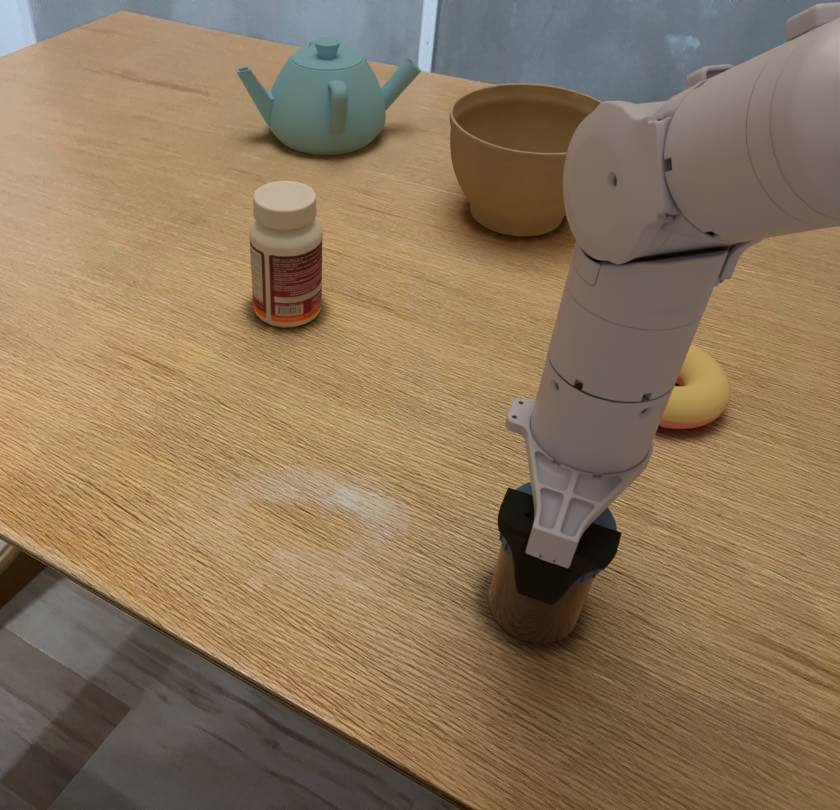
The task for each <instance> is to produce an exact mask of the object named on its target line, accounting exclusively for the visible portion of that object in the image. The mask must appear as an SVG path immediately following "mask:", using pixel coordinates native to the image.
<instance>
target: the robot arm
mask: <svg viewBox="0 0 840 810" xmlns="http://www.w3.org/2000/svg"><path fill="white" fill-rule="evenodd" d="M785 34H786V42H784V43H782V44H780V45H778V46H775V47H774V48H771V49H769V50H767V51H765V52H763V53H760V54H758V55H755V56H754V57H752V58H750V59H747V60H746V61H743V62H742V63H739V64H736V65H733V64H731V63H726V64H724V63H723V64H715V65H706V66H703V67H701V68H699V69H697V70H695V71H693V72H691V73H689V74H688V75H687V76H686V79H685V89H683V90H680V91H679V92H678V93H675V94H674V95H673V96H672V97H670V98H669V99H668V100H662V101H650V102H642V103H640V102H639V103H633V102H630V101H625V100H605V101H602V103H600V104H599V105H598V106H597V108H596V109H595V110H594V111H593V112H592V113H591V114H589V115H588V116H587V117H586V118H585V119H584V120H583V121H582V122H581V123H580V124H579V126H578V127H577V129H576V131H575V132H574V134H573V137H572V139H571V141H570V144H569V147H568V150H567V154H566V159H565V164H564V173H563V197H564V206H565V211H566V215H565V216H566V220H567V223H568V226H569V229H570V232H571V234H572V236H573V238H574V240H575V244H574V248H573V253H572V256H571V260H570V264H569V268H568V271H567V276H566V279H565V284H564V288H563V291H562V295H561V299H560V302H559V307H558V309H557V315H556V319H555V323H554V327H553V329H552V330H553V331H552V334H551V337H550V342H549V346H548V351H547V354H546V358H545V362H544V365H543V369H542V374H541V378H540V381H539V385H538V388H537V393H536V396H535V400H531V399H527V398H523V397H522V398H521V397H519V398H515V399H513V400H512V402H511V404H510V407H509V409H508V412H507V414H506V416H505V417H506V418H505V422H504V426H505V428H506V429H507V430H508V431H510V432H512V433H515V434H518V435H520V436H522V438H523V440H524V444H525V451H526V459H527V467H528V473H529V480H530V481H529V482H531V488H532V495H530V494H527V493H524V492H521V491H518V490H516V489H515V488H512V487H507V489H506V491H505V494H504V496H503V499H502V502H501V504H500V507H499V509H498V513H497V530H498V532H499V534H500V533H501V534H502V536H503V537H504V538H505V539H506V541H507V543H508V544H509V547H510V549H511V552H512V556H513V563H514V578H515V585H516V590H517V592H518V593H519V594H522V595H524V596H527V597H530V598H532V599H535V600H538V601H540V602H543V603H546V604H548V605H554V604H555V603H556V602H557V601H558V600H559V599H560V598H561V597H562V596H563V595H564V594H565V593H566V592H567V591H568V589H569V588H570V587H571V586H572V585H573V584H574V583H575V582H576V581H577V580H578V579H579V578H580V577H582V576H583V575H585V574H587V573H589V572H591V571H594V570H599V569H604V568H605V569H606V568H607V567H608V566H609V565H611V563H612V562H613V560H614V559H615V557H616V556H617V553H618V549H619V545H620V541H621V538H622V532H621V531H618V530H617V531H616V530H613V529H610V528H607V527H604V526H601V525H598V524H595V523H592V522H593V521H594V520H595V519H596V518H597V517H598V516H599V515H600V514H601V513H602V512H603V511H604V510H605V509H606V508H607V507H608V508H609V506H611V505H612V503H613V502H615V500H617V498H619V496H621V495H622V494H623V492H625V491H626V490H627V489H628V488H629V487H630V486H631V485H632V484H633V483H634V482H635V480H637V479H638V477H640V476H641V475H642V474H643V472H644V471H645V470H646V469H647V467H648V465H649V463H650V460H651V458H652V455H653V452H654V444H655V443H654V438H655V437H656V433H657V431H658V429H659V424H660V421H661V419H662V416H663V414H664V411H665V409H666V406H667V404H668V401H669V398H670V396H671V393H672V391H673V388H674V386H676V384H677V383H676V381H677V378H678V375H679V373H680V370H681V368H682V365H683V363H684V360H685V358H686V355H687V353H688V351H689V348H690V346H691V344H692V343H693V340H694V339H695V335H696V333H697V331H698V328H699V325H700V323H701V320H702V318H703V315H704V313H705V311H706V309H707V307H708V304H709V301H710V299H711V295H712V293H713V292H714V289H715V287H718V286H719V284H722V283H724V282H725V281H726V280H731V279H732V276H733V274H734V272H735V269H736V267H737V265H738V262H739V260H740V259H741V256H742V255H743V254H744V252H745V251H747V250H748V249H749V248H751V247H752V246H754V245H756V244H758V243H760V242H762V241H764V240H765V239H769V238H777V237H781V236H782V237H783V236H789V235H793V234H800V233H805V232H811V231H817V230H823V229H824V230H825V229H829V228H837V227H840V1H837V2H836V1H835V2H825V3H824V2H823V3H817V4H815V5H812V6H811V7H808V8H806V9H804V10H801V12H799V13H796V14H795V15H793V16H791V17H789V18H788V19H787V20H786V23H785ZM605 569H604V570H605Z"/></svg>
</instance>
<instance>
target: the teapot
mask: <svg viewBox="0 0 840 810" xmlns="http://www.w3.org/2000/svg"><path fill="white" fill-rule="evenodd" d="M235 72H236V74H237V75H238V77H239V79H240V81H241V82H242V84H243V86H244V87H245V89H246V91H247V93H248V94H249V96H250V98H251V100H252V101H253V103H254V105H255V107H256V108H257V110H258V111H259V114H260V115H261V117H262V118H263V120H264V122H265V123H266V125H267V126H268V128H269V130H270V131H271V132H272V134H273V135H274V136H275V137H276V138H277V140H279V141H280V143H282V144H283V145H284V146H285V147H287V148H288V149H291V150H293V151H296V152H299V153H303V154H307V155H315V156H337V155H344V154H350V153H353V152H357V151H360V150H362V149H364V148H365V147H367V146H368V145H370V143H372V142H373V141H374V140H375V139H376V138H377V137H378V136H379V135H380V133H381V132H382V131H383V129H384V128H385V124H386V120H387V119H386V117H387V113H386V111H388V109H389V108H390V107H391V106H392V104H393V103H394V102H395V101H396V100H397V99H398V98H399V97H400V96H401V95H402V94H403V92H404V91H405V90H406V89H407V88H408V87H409V86H410V84H411V83H412V82H414V80H415V79H416V78H417V77H418V76H419V75H420V73H422V69H421V68H420V67H419V66H418V64H416V63H415V62H414V61H413V60H412V59H411V58H409V57H405V59H404V60H403V61H402V63H401V64H399V66H398V68H396V70H395V71H394V72H393V74H392V75H391V76H390V77H389V78H388V79H387V81H386V82H385V83H384V84H383V85H382V87H381V85H380V82H379V81H378V78H377V76H376V74H375V72H374V70H373V68H372V66H371V64H370V63H369V61H368V60H367V59H366V57H365V55H364V54H363V53H362V52H360V51H359V50H358V49H356V48H353V47H350V46H346V45H343V44H341V41H340V39H338V38H336V37H332V36H323V37H319V38H317V39H314V40H312V41H310V42H309V45H307V46H303V47H300V48H298V49H295V50H294V51H293V52H292V53H291V54H290V55H289V56H288V58H287V60H286V61H285V63H284V64H283V66H282V68H281V69H280V71H279V72H278V75H277V76H276V78H275V81H274V83H273V84H272V86H271V89H266V87H264V85H263V84H262V82H261V81H260V80H259V79H258V77H257V76H256V75H255V73H254V72H253V70H252V68H251V65H247V66H242V67H236V68H235Z"/></svg>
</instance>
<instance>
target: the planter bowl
mask: <svg viewBox="0 0 840 810" xmlns="http://www.w3.org/2000/svg"><path fill="white" fill-rule="evenodd" d="M602 102H603V101H602V100H600V99H598V98H596V97H593V96H592V95H589V94H586V93H582V92H580V91H577V90H573V89H569V88H565V87H561V86H556V85H552V84H551V85H549V84H543V83H532V82H531V83H529V82H519V83H518V82H510V83H497V84H491V85H487V86H482V87H478V88H475V89H473V90H470V91H468V92H465V93H463V94H462V95H460V96H459V97H457V98H456V99H455V100H454V102H452V104H451V106H450V108H449V125H450V126H449V127H450V132H449V147H450V148H449V149H450V150H449V151H450V159H451V163H452V168H453V172H454V175H455V178H456V181H457V183H458V185H459V187H460V189H461V191H462V193H463V195H464V196H465V198H466V199H467V201H468V202H469V211H470V214H471V216H472V218H473V219H474V220H475V221H476V222H477V223H478V224H479V225H481V226H483V227H484V228H486V229H488V230H490V231H493V232H496V233H498V234H502V235H506V236H512V237H526V238H527V237H535V236H536V237H538V236H541V235H545V234H548V233H551V232H553V231H554V230H556V229H557V228H559V226H560V225H561V224H562V222H563V220H564V218H565V216H566V211H565V206H564V197H563V173H564V164H565V159H566V154H567V150H568V147H569V144H570V141H571V139H572V137H573V134H574V132H575V131H576V129H577V127H578V126H579V124H580V123H581V122H582V121H583V120H584V119H585V118H586V117H587V116H588V115H589V114H591V113H592V112H593V111H594V110H595V109H596V108H597V106H598V105H599V104H600V103H602Z"/></svg>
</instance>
